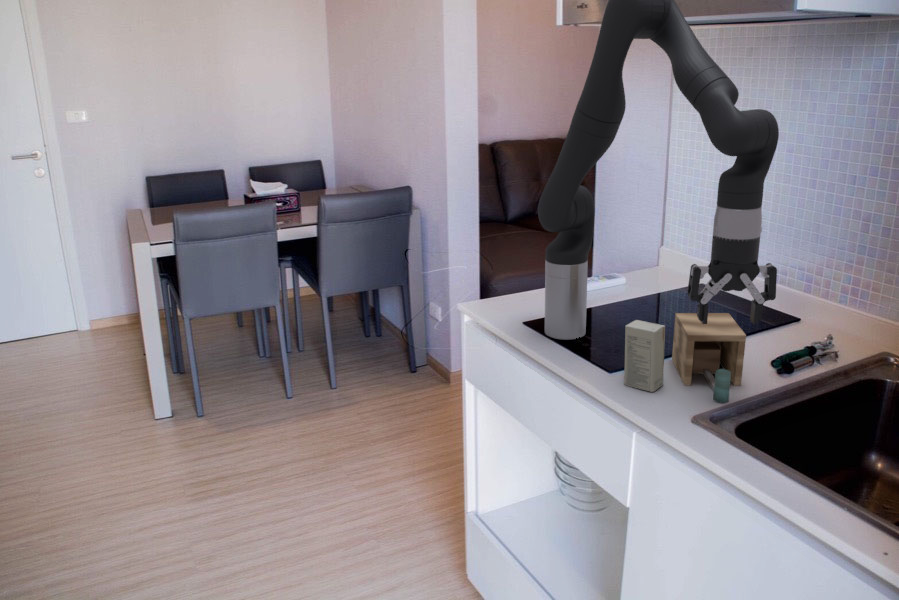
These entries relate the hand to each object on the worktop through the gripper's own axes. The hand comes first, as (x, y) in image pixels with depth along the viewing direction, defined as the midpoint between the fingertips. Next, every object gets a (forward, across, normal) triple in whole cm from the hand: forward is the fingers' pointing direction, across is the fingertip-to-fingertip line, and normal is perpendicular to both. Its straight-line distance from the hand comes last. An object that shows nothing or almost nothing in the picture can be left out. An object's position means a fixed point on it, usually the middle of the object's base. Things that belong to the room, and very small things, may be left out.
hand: (728, 322), depth 131 cm
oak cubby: (+15, 0, -12) cm, 19 cm away
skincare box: (+15, +13, -6) cm, 21 cm away
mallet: (+15, 0, -8) cm, 17 cm away
